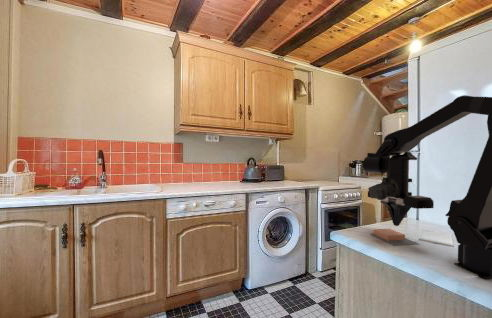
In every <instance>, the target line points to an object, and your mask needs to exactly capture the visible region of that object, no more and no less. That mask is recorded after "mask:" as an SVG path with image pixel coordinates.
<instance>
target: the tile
mask: <svg viewBox="0 0 492 318" xmlns="http://www.w3.org/2000/svg"><path fill="white" fill-rule="evenodd" d="M373 234H375V235H377V236H379V237H381V238H383V239H385V240H387V241H392V240H405V238H406V234H405V233H402V232H399V231H397V230H394V229H392V228H374V229H373Z"/></svg>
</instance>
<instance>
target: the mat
mask: <svg viewBox="0 0 492 318" xmlns="http://www.w3.org/2000/svg"><path fill="white" fill-rule="evenodd" d="M369 235H370V236H373V237H374V238H376V239H378V240H380V241H383V242H384V243H387V244H388V245H390V246H393V247H401V246H402V247H403V246H404V247H405V246H414V245H415V246H418V245H420V246H421V244H420V243H419V242H416V241H414V240H411V239H409V238H406V237H405V240H392V241H387V240H385V239H383V238H381V237H379V236H377V235H375V234H374V233H369Z"/></svg>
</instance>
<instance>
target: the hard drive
mask: <svg viewBox="0 0 492 318" xmlns="http://www.w3.org/2000/svg"><path fill="white" fill-rule="evenodd" d="M418 241H419V242H424V243H429V244H435V245H440V246H445V247H450V248H455V243H454V237H453V234H451V233H447V232H446V233H445V232H442V231H435V230H429V229H424V228H423V229H422V228H421V230H420V233H419V236H418Z"/></svg>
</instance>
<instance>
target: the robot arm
mask: <svg viewBox="0 0 492 318" xmlns="http://www.w3.org/2000/svg"><path fill="white" fill-rule="evenodd" d="M471 114H476V115H485V116H487V120H486V124H487V126H486V127H487V133H488V137H487V141H486V143H485V146H484V148H483V151H482V153H481V156H480V158H479V161H478V164H477V167H476V168H475V172H474V174H473V176H472V180H471V182H470V185H469V187H468V190H467V192H466V195H465V196H464V197H463V198H462V199H455V200H451V202H450V204H449V209H448V211H447V213H446V214H445V217H447V225H448V226H449V228H450V230H452V232H453V234H454V237H455V239H456V242H457V243H458V245H457V262H454V263H453V265H454V266H457V267H458V268H461V269H463V270H466V271H468V272H470V273H472V274H475V275H477V276H478V277H480V278H482V279H484V280H487V279H488V280H489V279H492V96H491V97H490V96H471V95H466V94H464V95H460V96H458V97H456V98H455V99H454V100H453V101H451V102H450V103H448V104H446V105H445V106H443V107H441V108H440V109H438V110H436V111H434V112H433V113H431V114H429V115H428V116H426V117H424V118H422V119H421V120H419V121H417V122H416V123H415V124H413V125H411V126H408V127H406V128H402V129H398V130H394V131H393V132H391V133H388V134H387V135H385V136H384V137H383V142H382V143H381V145H380V146H379V148H378V149H377V151H376V152H367V153H366V154H367V156H366V157H364V160H363V162H362V169H363V170H364V171H365V172H366V173H374V174H384V175H385V174H386V176H384V177H382V180H381V182H380V183H377V184H373V185H372V186H369V187H368V188H367V190H368V191H367V198H371V199H376V200H377V201H379V202H380V203H381V204H383V205H384V206H385V207H386V208H387V211H388V213H389V215H390V218H391V219H390V220H391V221H392V223H393V224H392V225H393V226H395V227H398V226H400V224H401V223H402V221H403V220H404V218H405V217H406V215H407V214H408V212H409V211H410V209H411V208H412V209H419V210H420V209H421V210H422V209H434V207H435V206H434V200H433V199H432V198H431V197H429V196H423V195H413V192H412V191H409V183H413V178H410V177H409V174H410V173H409V171H410V161H418V157H416V156H415V155H414V154H412V152H410V151H411V150H413V149H414V148H416V147H418V145H419V144H420V143H421V141H422V140H424V139H425V138H426V137H429V136H430V135H432V134H435V133H436V132H439V131H440V130H442V129H444V128H445V127H448V126H449V125H451V124H453V123H455V122H457V121H459V120H460V119H463V118H464V117H466V116H468V115H471Z"/></svg>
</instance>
